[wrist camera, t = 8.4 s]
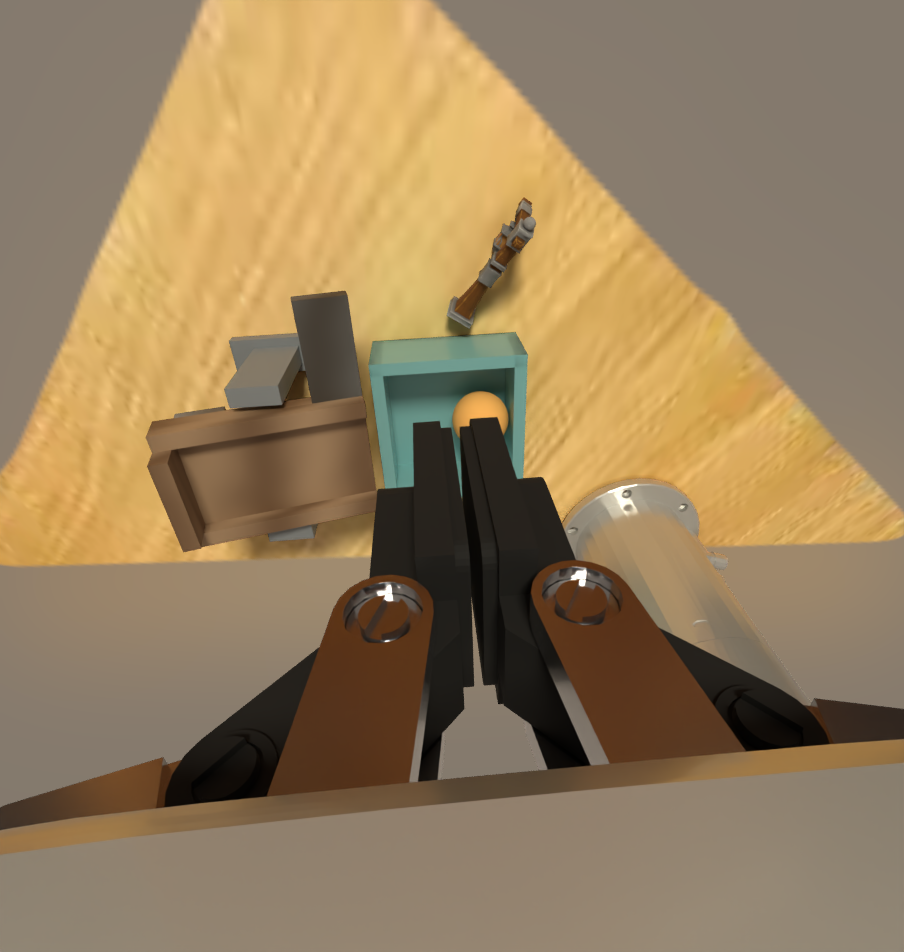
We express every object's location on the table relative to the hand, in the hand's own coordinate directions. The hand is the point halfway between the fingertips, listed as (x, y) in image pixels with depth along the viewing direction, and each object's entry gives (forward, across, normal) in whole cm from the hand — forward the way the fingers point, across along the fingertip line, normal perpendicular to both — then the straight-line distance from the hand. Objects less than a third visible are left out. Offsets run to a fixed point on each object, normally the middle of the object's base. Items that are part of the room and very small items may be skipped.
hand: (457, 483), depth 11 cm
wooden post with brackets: (+28, -4, +1) cm, 28 cm away
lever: (+24, +11, +8) cm, 27 cm away
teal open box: (+27, -1, +11) cm, 29 cm away
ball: (+24, -3, +11) cm, 27 cm away
